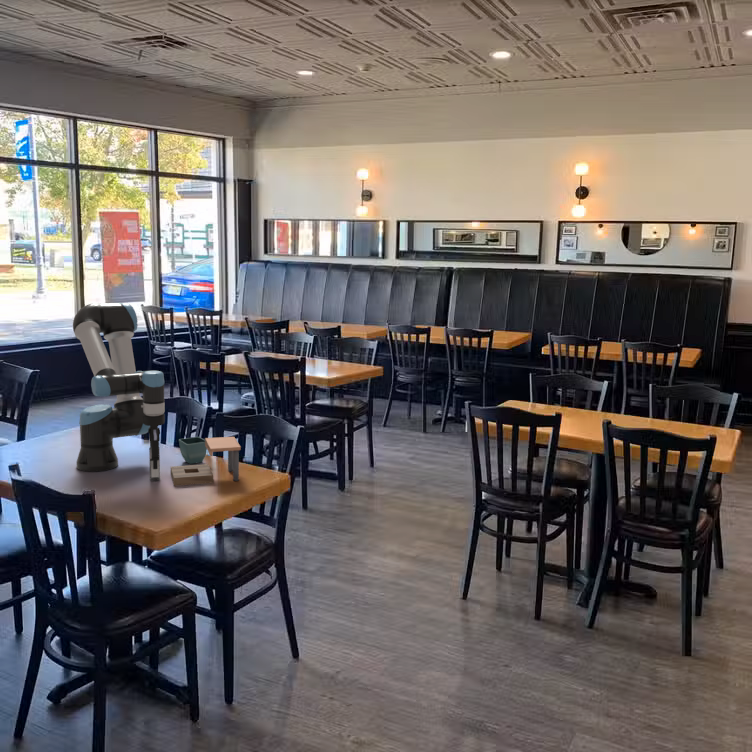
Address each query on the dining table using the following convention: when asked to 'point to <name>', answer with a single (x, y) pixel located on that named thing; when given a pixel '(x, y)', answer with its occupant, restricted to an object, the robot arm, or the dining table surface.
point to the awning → (226, 445)
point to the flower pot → (193, 449)
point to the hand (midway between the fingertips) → (154, 475)
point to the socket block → (191, 474)
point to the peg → (150, 466)
